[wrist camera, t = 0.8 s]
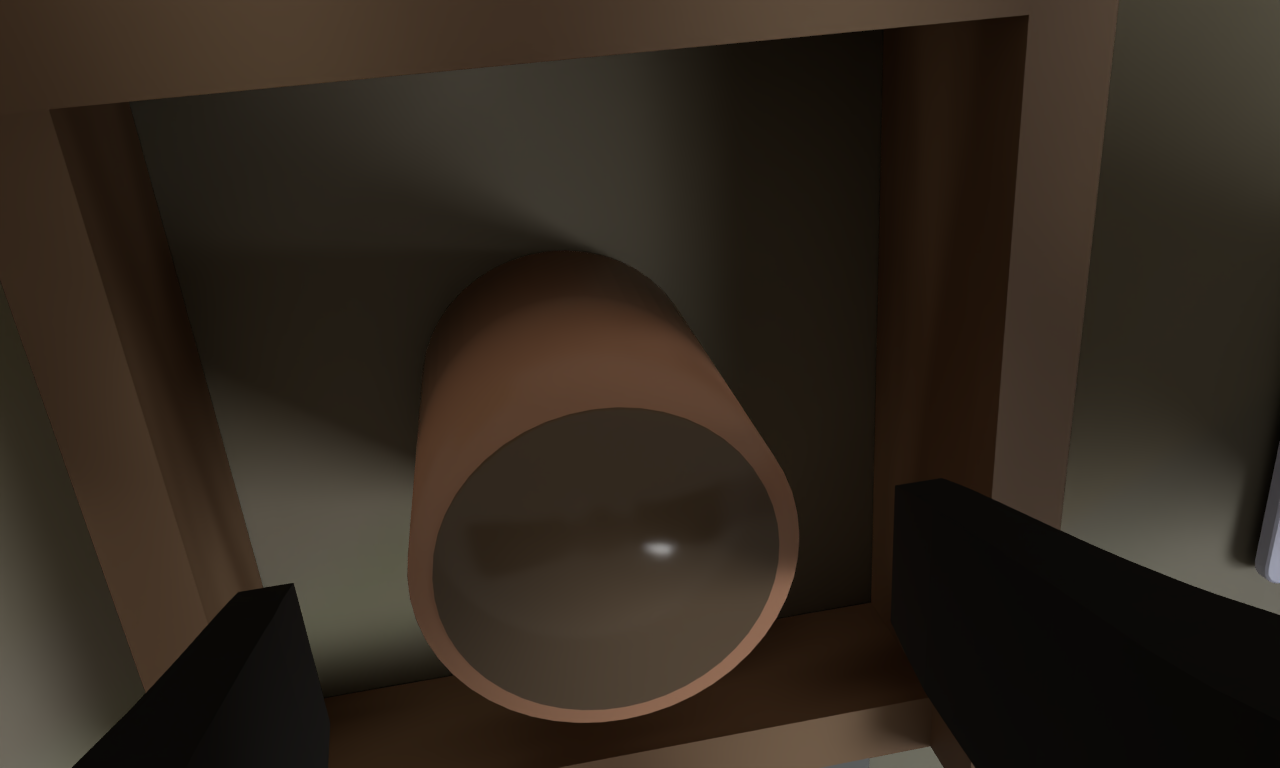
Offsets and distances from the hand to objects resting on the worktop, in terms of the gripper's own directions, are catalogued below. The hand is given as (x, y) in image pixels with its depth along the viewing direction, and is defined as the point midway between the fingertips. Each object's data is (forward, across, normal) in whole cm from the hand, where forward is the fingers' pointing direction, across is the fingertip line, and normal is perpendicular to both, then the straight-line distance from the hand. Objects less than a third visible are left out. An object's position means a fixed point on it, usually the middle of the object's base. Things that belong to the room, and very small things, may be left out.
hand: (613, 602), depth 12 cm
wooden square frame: (+7, 0, 0) cm, 7 cm away
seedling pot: (+7, 0, 0) cm, 7 cm away
